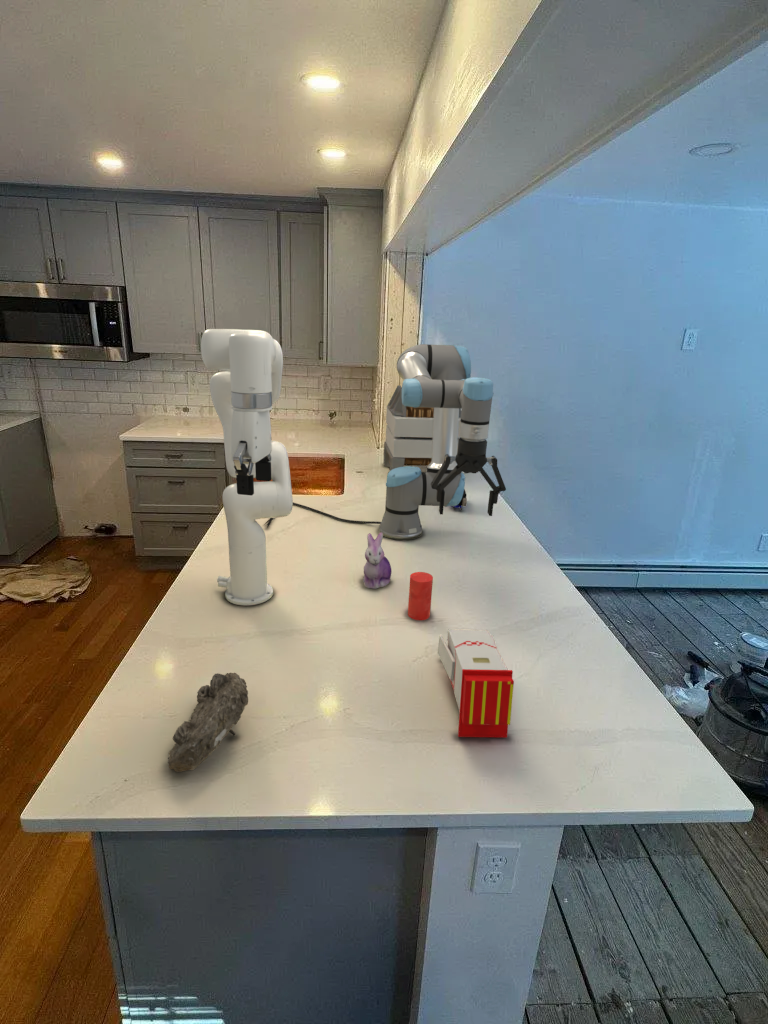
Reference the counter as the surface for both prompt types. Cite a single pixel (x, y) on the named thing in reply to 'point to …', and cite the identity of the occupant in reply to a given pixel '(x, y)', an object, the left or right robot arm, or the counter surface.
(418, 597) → the can
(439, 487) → the right robot arm
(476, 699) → the toy
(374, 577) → the figurine
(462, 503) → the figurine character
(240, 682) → the fossil
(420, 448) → the grey wooden crate
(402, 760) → the counter surface
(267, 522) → the feather
